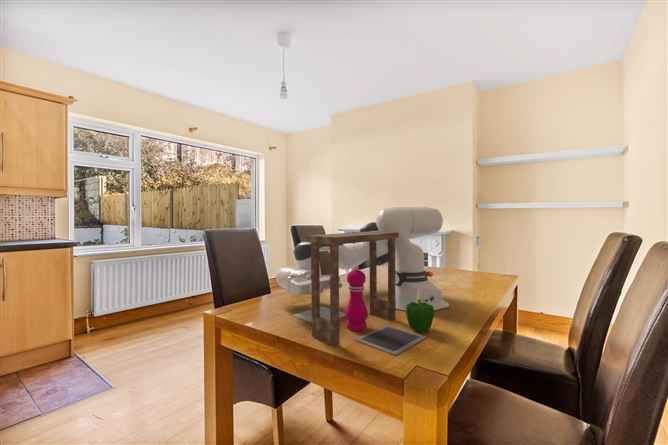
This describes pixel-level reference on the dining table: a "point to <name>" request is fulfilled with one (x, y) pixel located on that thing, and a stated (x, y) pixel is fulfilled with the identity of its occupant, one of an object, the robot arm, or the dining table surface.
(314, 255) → the walnut tunnel
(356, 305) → the pepper mill
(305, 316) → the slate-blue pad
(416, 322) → the bell pepper
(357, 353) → the dining table surface
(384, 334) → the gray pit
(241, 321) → the dining table surface
